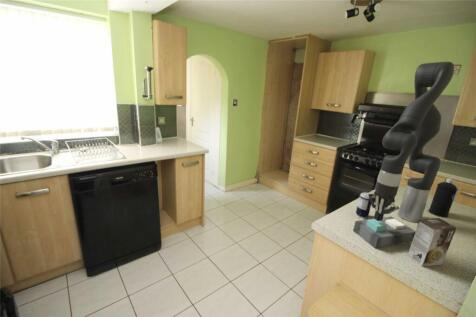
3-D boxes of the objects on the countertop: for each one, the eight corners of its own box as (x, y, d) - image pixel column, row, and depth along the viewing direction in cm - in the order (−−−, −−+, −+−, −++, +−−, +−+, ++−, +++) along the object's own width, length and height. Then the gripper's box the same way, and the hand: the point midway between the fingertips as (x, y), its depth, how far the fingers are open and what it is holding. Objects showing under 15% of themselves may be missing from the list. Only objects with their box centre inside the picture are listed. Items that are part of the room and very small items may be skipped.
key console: (388, 225, 107) (391, 216, 105) (413, 241, 96) (416, 231, 94) (353, 230, 101) (355, 221, 100) (375, 248, 90) (378, 237, 89)
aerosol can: (431, 215, 119) (443, 180, 113) (425, 208, 126) (437, 175, 120) (450, 219, 116) (464, 183, 110) (444, 211, 123) (456, 177, 117)
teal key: (374, 227, 99) (376, 218, 98) (384, 234, 95) (386, 225, 93) (365, 228, 98) (367, 219, 97) (374, 235, 93) (377, 226, 92)
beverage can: (369, 219, 111) (375, 197, 108) (357, 217, 112) (362, 196, 109) (365, 213, 116) (371, 192, 113) (354, 212, 117) (359, 191, 114)
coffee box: (426, 253, 89) (439, 217, 85) (442, 265, 83) (457, 227, 79) (406, 254, 88) (418, 218, 83) (422, 267, 82) (436, 229, 77)
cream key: (392, 227, 102) (394, 218, 101) (402, 234, 98) (405, 225, 97) (383, 228, 101) (385, 219, 100) (393, 235, 97) (396, 226, 95)
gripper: (411, 188, 84) (399, 228, 90) (381, 175, 96) (371, 211, 102) (396, 189, 82) (384, 230, 87) (367, 176, 94) (358, 212, 100)
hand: (377, 219), depth 95 cm, fingers closed
